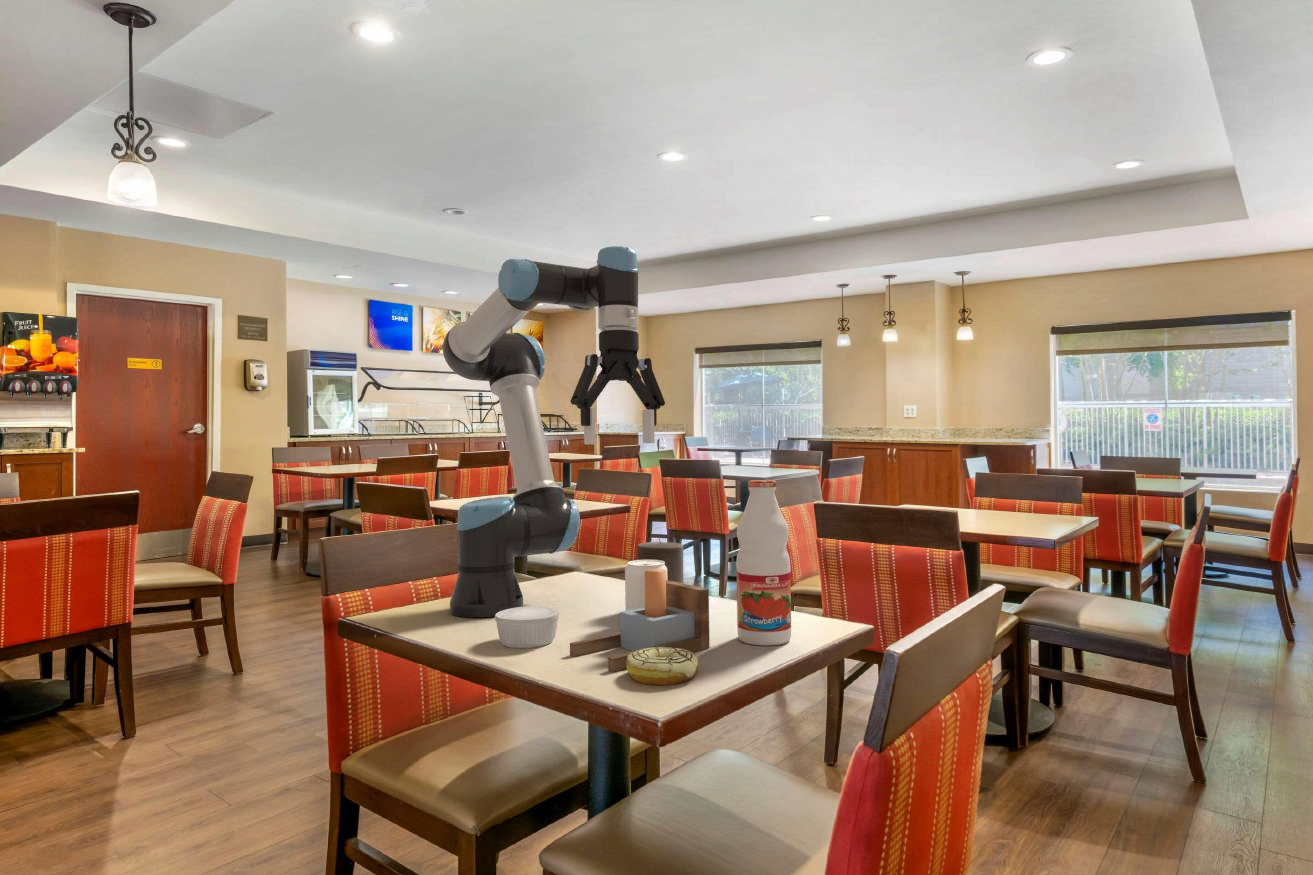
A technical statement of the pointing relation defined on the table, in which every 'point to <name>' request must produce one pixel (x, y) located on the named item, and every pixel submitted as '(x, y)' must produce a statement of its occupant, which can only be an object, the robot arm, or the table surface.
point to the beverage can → (638, 581)
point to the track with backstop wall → (678, 598)
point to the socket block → (655, 628)
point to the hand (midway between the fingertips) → (620, 444)
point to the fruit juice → (763, 569)
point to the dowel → (655, 593)
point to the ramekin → (527, 626)
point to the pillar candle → (664, 557)
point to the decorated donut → (662, 665)
